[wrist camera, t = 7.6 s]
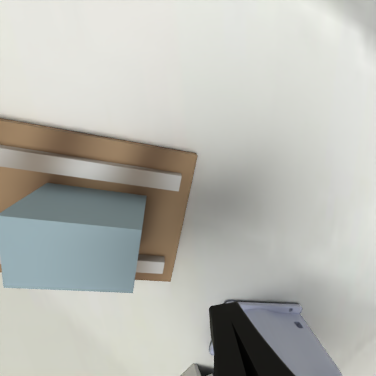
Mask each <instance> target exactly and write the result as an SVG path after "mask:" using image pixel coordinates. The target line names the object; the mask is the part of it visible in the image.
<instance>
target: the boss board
mask: <svg viewBox="0 0 376 376" xmlns="http://www.w3.org/2000/svg"><path fill="white" fill-rule="evenodd" d="M196 160H197V154H196V153H192V152H186V151H181V150H175V149H169V148H164V147H158V146H153V145H147V144H142V143H136V142H130V141H125V140H119V139H114V138H108V137H103V136H97V135H91V134H86V133H80V132H75V131H69V130H63V129H58V128H52V127H47V126H41V125H36V124H30V123H24V122H19V121H13V120H8V119H2V118H0V213H1V212H2V211H4V210H5V209H7V208H8V207H10V206H12V205H13V204H15V203H16V202H18V201H19V200H21V199H23V198H24V197H26V196H27V195H29V194H30V193H32V192H34V191H35V190H37V189H38V188H40V187H41V186H43V185H44V184H46V183H53V184H61V185H69V186H76V187H84V188H91V189H99V190H106V191H114V192H122V193H129V194H137V195H144V196H147V197H146V204H145V212H144V219H143V226H142V233H141V240H140V247H139V254H138V260H137V267H136V274H135V280H150V281H169V282H170V281H171V276H172V272H173V267H174V262H175V258H176V253H177V248H178V244H179V239H180V235H181V230H182V225H183V221H184V216H185V211H186V207H187V202H188V197H189V193H190V188H191V183H192V179H193V174H194V170H195V165H196ZM0 272H2V268H1V258H0Z"/></svg>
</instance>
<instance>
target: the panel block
mask: <svg viewBox="0 0 376 376" xmlns="http://www.w3.org/2000/svg"><path fill="white" fill-rule="evenodd" d="M146 197H147V196H144V195H137V194H129V193H122V192H114V191H106V190H99V189H91V188H84V187H76V186H69V185H61V184H53V183H46V184H44V185H43V186H41V187H40V188H38V189H37V190H35V191H34V192H32V193H30V194H29V195H27V196H26V197H24V198H23V199H21V200H19V201H18V202H16V203H15V204H13V205H12V206H10V207H8V208H7V209H5V210H4V211H2V212H1V213H0V258H1V268H2V277H3V286H4V288H28V289H51V290H75V291H99V292H122V293H133V288H134V281H135V274H136V267H137V260H138V254H139V247H140V240H141V233H142V226H143V219H144V212H145V204H146Z"/></svg>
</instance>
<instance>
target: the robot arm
mask: <svg viewBox="0 0 376 376" xmlns="http://www.w3.org/2000/svg"><path fill="white" fill-rule="evenodd" d="M301 311H302V307H301V306H300V305H299V304H278V303H251V302H226V303H225V304H220V305H215V306H211V307H210V308H209V315H210V330H211V338H212V342H211V345H210V348H209V352H210V354H211V355H214V376H342V374H341V372H340V371H339V369H338V367H337V366H336V364H335V363H334V362H333V360H332V359H331V357H330V356H329V354H328V353H327V352H326V350H325V349H324V347H323V346H322V344H321V343H320V342H319V340H318V339H317V337H316V336H315V335H314V333H313V332H312V330H311V329H310V327H309V326H308V325H307V323H306V322H305V320H304V319H303V317H302V316H301V315H300V313H301Z"/></svg>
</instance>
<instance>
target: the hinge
mask: <svg viewBox="0 0 376 376" xmlns="http://www.w3.org/2000/svg"><path fill="white" fill-rule="evenodd" d="M181 376H201V374H200V372H199V369H198V366H197V364H194V363H193V364H192V365H191V366H190V367H189V368H188V369H187V370H186V371H185V372H184V373H183V374H182V375H181ZM207 376H213V374H210V375H207Z"/></svg>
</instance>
